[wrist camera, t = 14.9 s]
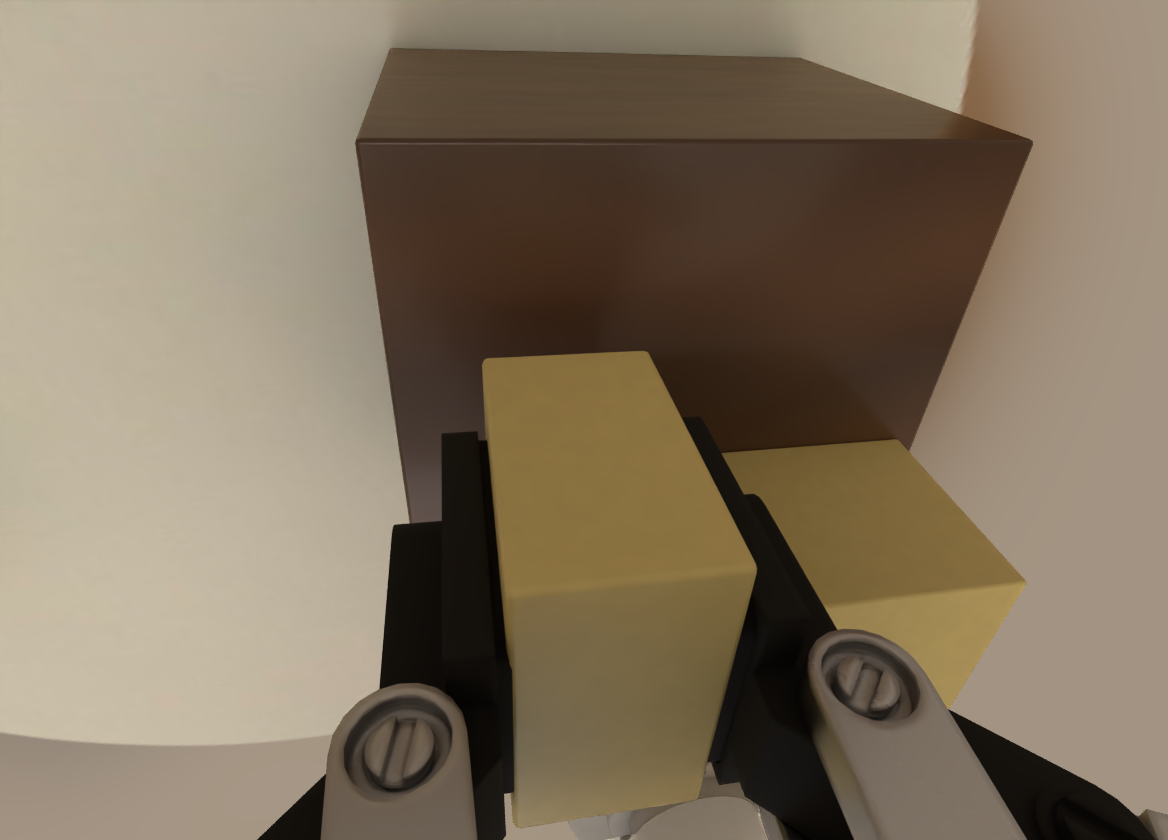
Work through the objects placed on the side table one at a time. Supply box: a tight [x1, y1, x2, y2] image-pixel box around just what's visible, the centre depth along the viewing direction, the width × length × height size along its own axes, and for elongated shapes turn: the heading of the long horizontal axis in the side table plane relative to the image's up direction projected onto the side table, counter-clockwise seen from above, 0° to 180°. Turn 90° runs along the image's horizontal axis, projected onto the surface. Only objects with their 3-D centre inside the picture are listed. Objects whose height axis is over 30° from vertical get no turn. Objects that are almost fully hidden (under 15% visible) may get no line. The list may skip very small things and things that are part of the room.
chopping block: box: [355, 48, 1033, 523], centre depth 20 cm, size 14×12×10 cm
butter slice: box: [482, 351, 757, 828], centre depth 10 cm, size 4×2×4 cm, turn 178°
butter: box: [722, 439, 1026, 709], centre depth 15 cm, size 4×7×4 cm, turn 88°
